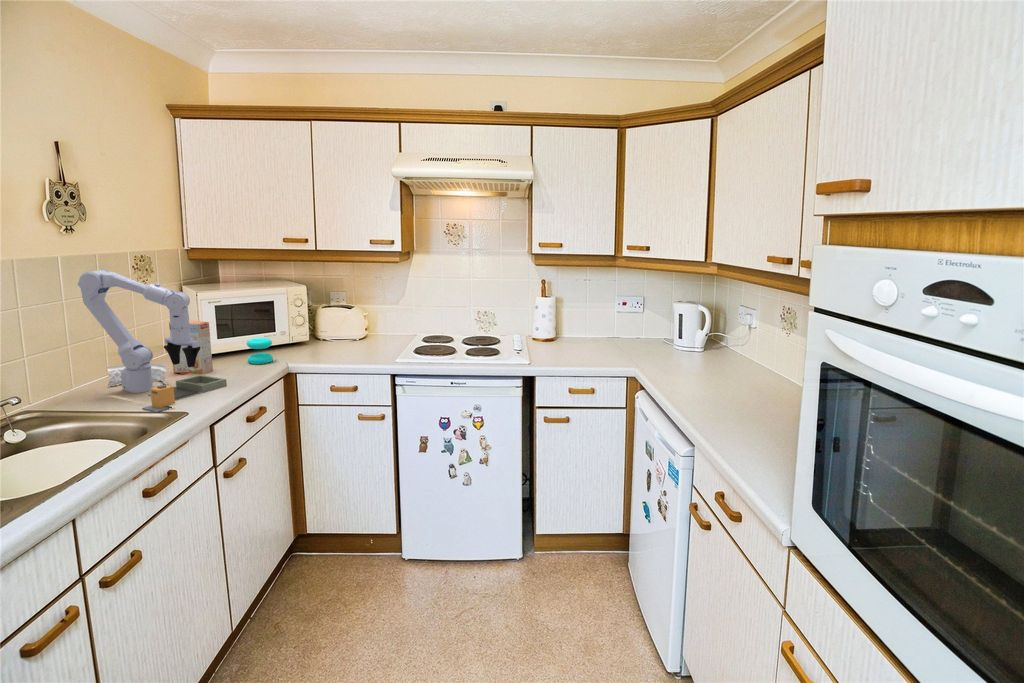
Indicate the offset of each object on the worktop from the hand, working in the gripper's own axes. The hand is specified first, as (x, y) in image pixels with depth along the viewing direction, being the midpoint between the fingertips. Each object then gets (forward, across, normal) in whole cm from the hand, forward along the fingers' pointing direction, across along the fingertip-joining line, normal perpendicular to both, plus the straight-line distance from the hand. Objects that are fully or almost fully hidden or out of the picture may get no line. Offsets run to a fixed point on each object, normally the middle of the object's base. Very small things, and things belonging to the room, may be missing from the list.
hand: (183, 365), depth 202 cm
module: (+9, -10, +15) cm, 20 cm away
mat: (+9, -10, +16) cm, 21 cm away
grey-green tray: (+9, -3, +1) cm, 10 cm away
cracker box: (+10, +19, -18) cm, 28 cm away
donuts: (+10, +11, -44) cm, 46 cm away
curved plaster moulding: (+10, +20, +3) cm, 23 cm away
